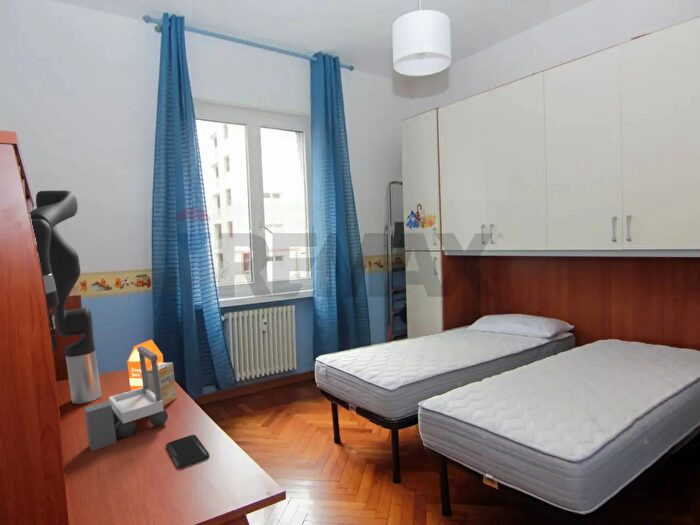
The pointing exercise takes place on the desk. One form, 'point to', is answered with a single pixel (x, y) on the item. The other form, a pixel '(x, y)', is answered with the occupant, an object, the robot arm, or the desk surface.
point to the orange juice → (135, 366)
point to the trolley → (139, 400)
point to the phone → (187, 451)
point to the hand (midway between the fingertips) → (51, 345)
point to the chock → (100, 425)
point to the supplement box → (164, 382)
